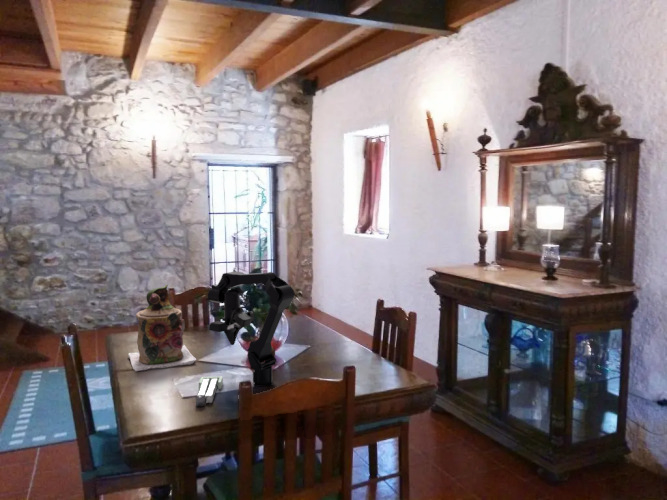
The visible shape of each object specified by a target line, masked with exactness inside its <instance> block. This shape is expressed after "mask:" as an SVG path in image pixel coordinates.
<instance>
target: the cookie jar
mask: <svg viewBox="0 0 667 500" xmlns="http://www.w3.org/2000/svg"><path fill="white" fill-rule="evenodd" d="M146 302H147V304H148V306H146V308H145V309H143V310H140V311H138V312H137V313H135V317H136V319H137V320H138V328H137V339H136V345H137V350H138V351H137V352H129V353H128V354H127V355H128V356H127V357H128V359H130V364H131V366H132V369H133V370H134V371H135V372H139V371H146V370H151V369H164V368H171V367H178V366H186V365H193V364H194V363H195V361H196V360H197V358H196V357H195V356H193V354H192V353H191V352H190V350H189V349H188V347H187V346H186V345H185V344H184V338H183V335H184V332H185V331H184V330H185V327H186V325H185V319H183V318H182V319H181V316H182V315H183V313H182V310H181V309H179V308H175V306H173V305H172V304H171V302H170V294H169V290H168V284H167V283H166V284H165V286H161V287H157V288H153V289H151V290H149V291H148V292H147V294H146Z"/></svg>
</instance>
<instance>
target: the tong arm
mask: <svg viewBox="0 0 667 500" xmlns="http://www.w3.org/2000/svg"><path fill="white" fill-rule="evenodd" d="M209 385H210V384H209V379H203V382H202V385H201V388H200V390H199V392H198V395H196V396H195V406H196V407H204V406H206V393H207V391H208V388H209Z"/></svg>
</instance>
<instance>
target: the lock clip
mask: <svg viewBox="0 0 667 500" xmlns="http://www.w3.org/2000/svg"><path fill="white" fill-rule="evenodd" d="M223 378H224V377H223V376H222V375H221V376H201V378H200V379H199V381H198V390H199V391H200V388H201V385H202V382H203V379H209V385H210V383H211V380H212V379H218V386H217V388H218V390H221V389H222V387H223V383H224V382H223V381H224V379H223Z"/></svg>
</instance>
